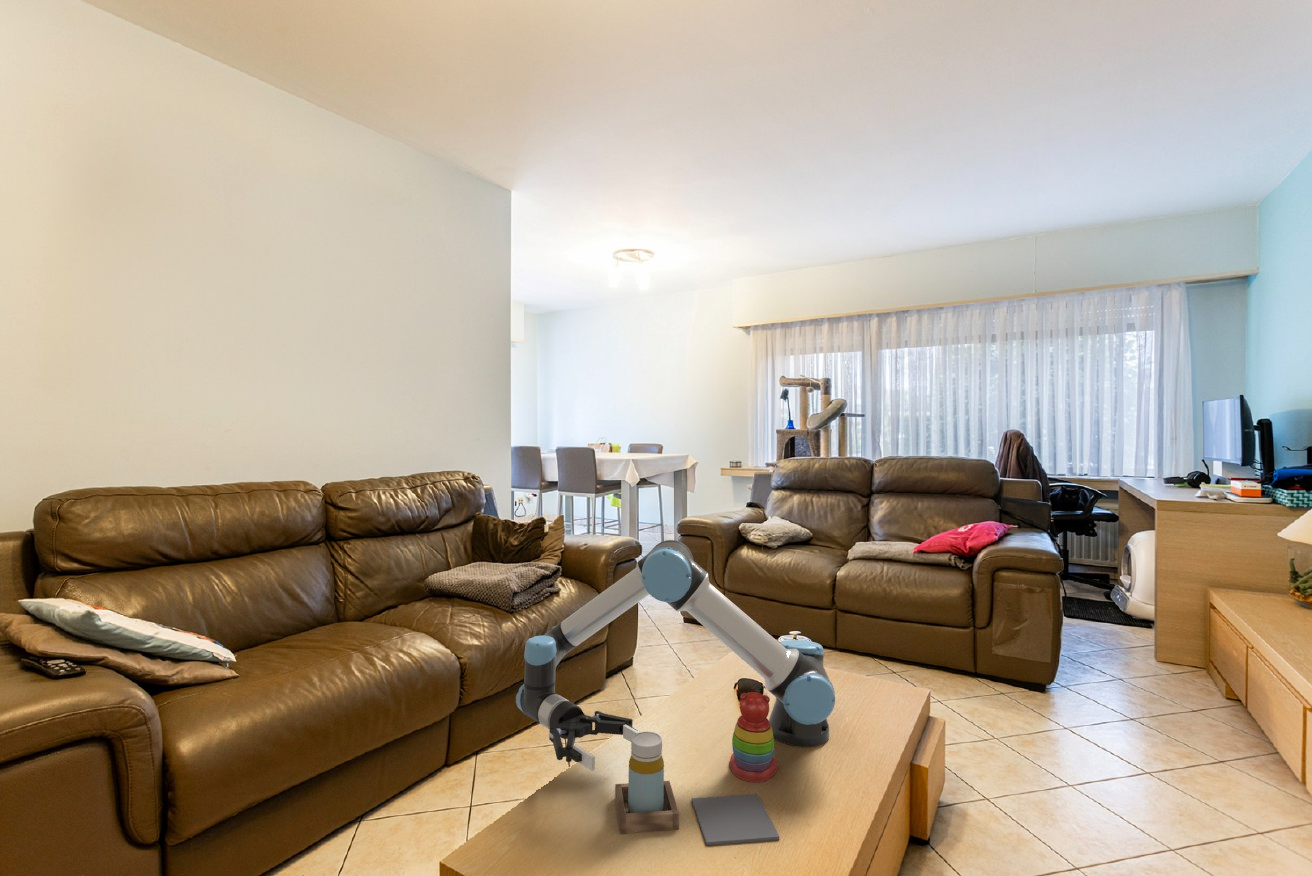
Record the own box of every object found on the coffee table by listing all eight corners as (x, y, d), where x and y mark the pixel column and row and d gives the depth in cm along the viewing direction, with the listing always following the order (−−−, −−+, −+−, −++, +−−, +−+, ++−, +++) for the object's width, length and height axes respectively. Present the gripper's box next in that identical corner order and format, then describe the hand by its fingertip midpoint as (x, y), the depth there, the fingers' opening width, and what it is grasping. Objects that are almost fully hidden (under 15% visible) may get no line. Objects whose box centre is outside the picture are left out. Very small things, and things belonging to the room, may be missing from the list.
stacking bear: (778, 763, 145) (780, 687, 145) (775, 787, 136) (777, 705, 135) (731, 755, 148) (733, 681, 148) (725, 779, 138) (727, 699, 138)
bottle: (659, 826, 121) (660, 749, 121) (624, 821, 123) (625, 745, 122) (666, 805, 128) (667, 732, 128) (632, 801, 129) (633, 728, 129)
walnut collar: (669, 794, 132) (669, 780, 132) (678, 829, 120) (678, 813, 120) (615, 798, 130) (615, 784, 130) (619, 833, 119) (619, 818, 119)
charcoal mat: (757, 796, 132) (757, 793, 132) (779, 839, 118) (779, 836, 118) (691, 801, 130) (691, 798, 130) (706, 845, 116) (706, 842, 116)
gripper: (603, 717, 155) (662, 750, 139) (514, 750, 138) (569, 792, 123) (604, 686, 155) (663, 717, 139) (514, 716, 138) (570, 754, 122)
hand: (619, 752), depth 131 cm, fingers open, 13 cm apart
